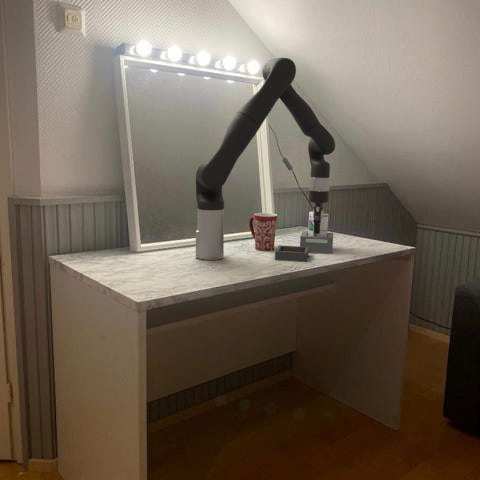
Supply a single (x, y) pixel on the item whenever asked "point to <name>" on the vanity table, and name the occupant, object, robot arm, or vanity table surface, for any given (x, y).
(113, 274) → the vanity table surface
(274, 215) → the mug
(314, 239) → the port
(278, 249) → the dark grey tray
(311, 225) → the syrup box
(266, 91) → the robot arm
